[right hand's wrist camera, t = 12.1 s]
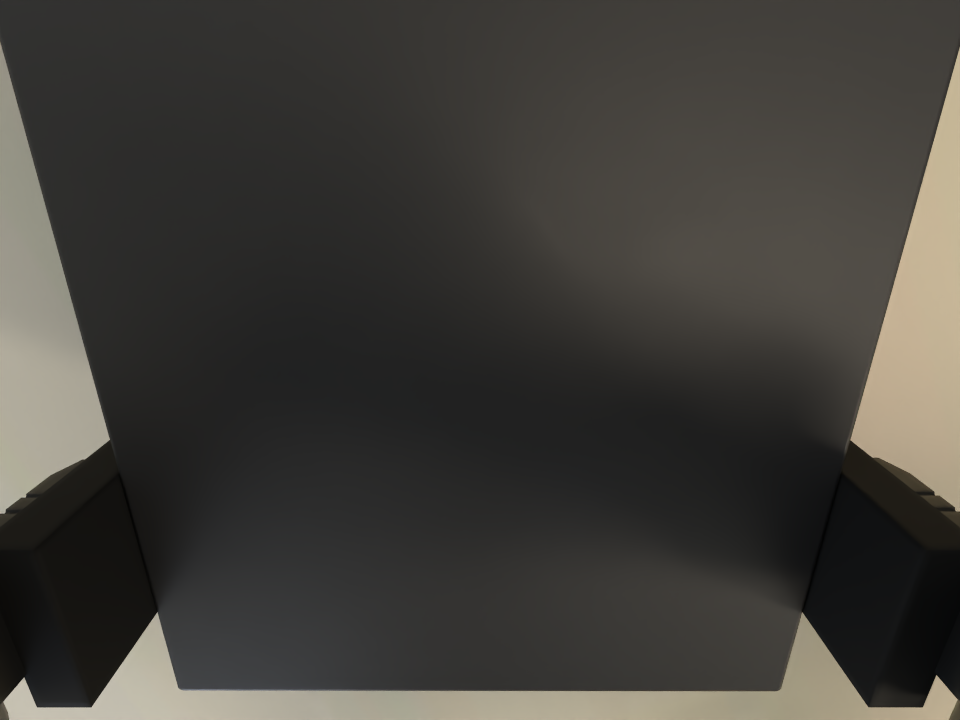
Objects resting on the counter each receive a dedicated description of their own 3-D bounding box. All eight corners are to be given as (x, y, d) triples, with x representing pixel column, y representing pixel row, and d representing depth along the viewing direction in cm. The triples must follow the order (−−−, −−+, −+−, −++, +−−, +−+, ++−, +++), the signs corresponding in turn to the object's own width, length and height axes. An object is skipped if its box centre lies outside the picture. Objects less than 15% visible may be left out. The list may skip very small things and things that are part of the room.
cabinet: (205, -406, 11) (-564, -1967, 3) (756, -406, 11) (1531, -1963, 3) (312, 449, 18) (176, 693, 10) (646, 449, 18) (783, 694, 10)
